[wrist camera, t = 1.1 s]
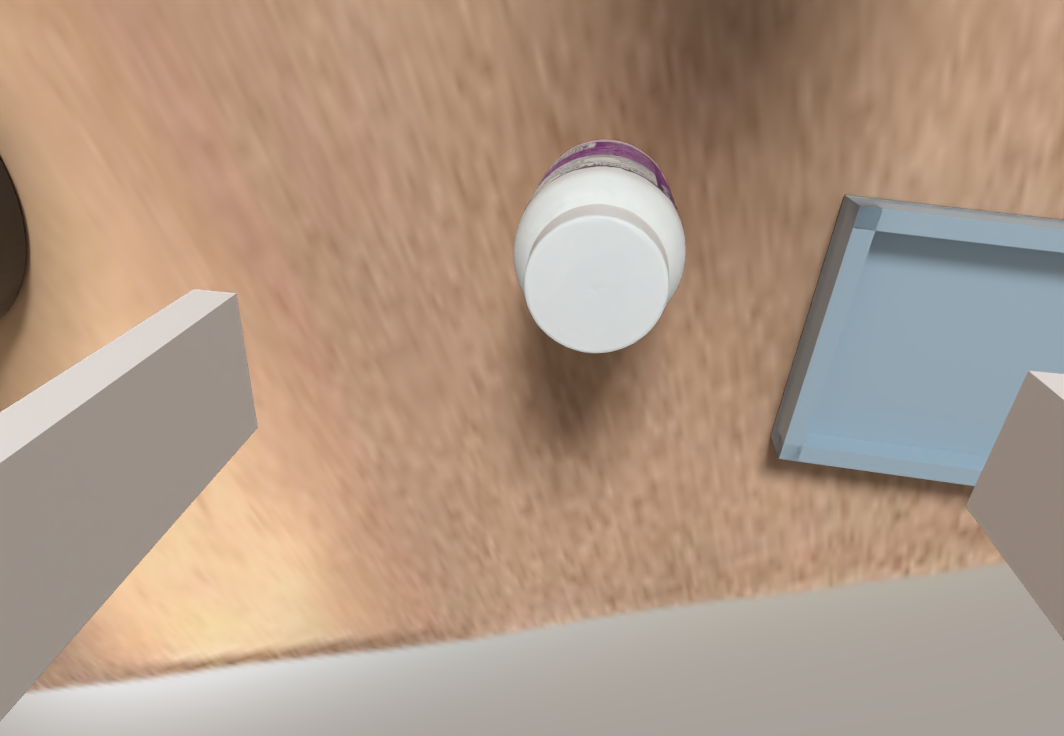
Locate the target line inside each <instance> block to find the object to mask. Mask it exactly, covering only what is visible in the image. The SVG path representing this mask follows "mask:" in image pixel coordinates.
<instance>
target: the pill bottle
mask: <svg viewBox="0 0 1064 736" xmlns="http://www.w3.org/2000/svg"><path fill="white" fill-rule="evenodd" d="M685 257H686V242H685V234H684V230H683V226H682V223H681V220H680V217H679V215H678V211H677V207H676V206H675V203H674V199H673V197H672V194H671V191H670V188H669V186H668V183H667V181H666V179H665V176H664V175H663V173H662V171H661V170H660V168H659V167H658V165H657V164H656V163H655V162H654V161H653V160H652V159H651V158H650V157H649V156H648V155H647V154H645V153H644V152H643V151H641V150H640V149H638V148H637V147H635V146H633V145H630V144H628V143H625V142H621V141H616V140H594V141H589V142H585V143H582V144H580V145H577V146H575V147H573V148H571V149H570V150H568V151H567V152H565V153H564V154H563V155H561V156H560V157H559V158H558V159H557V160H556V161H555V162H554V163H553V164H552V165H551V167H550V168H549V169H548V171H547V172H546V174H545V175H544V177H543V178H542V180H541V181H540V183H539V185H538V187H537V189H536V191H535V193H534V195H533V197H532V198H531V200H530V202H529V204H528V205H527V207H526V209H525V211H524V213H523V215H522V217H521V220H520V224H519V226H518V230H517V233H516V237H515V242H514V266H515V272H516V275H517V279H518V282H519V284H520V287H521V289H522V291H523V293H524V295H525V300H526V303H527V306H528V309H529V311H530V313H531V315H532V317H533V319H534V320H535V322H536V324H537V325H538V326H539V327H540V328H541V329H542V330H543V331H544V332H545V333H546V335H548V336H549V337H550V338H552V339H553V340H554V341H556V342H558V343H559V344H561V345H563V346H565V347H568V348H570V349H573V350H576V351H580V352H585V353H607V352H612V351H617V350H620V349H623V348H625V347H627V346H630V345H632V344H634V343H635V342H637V341H638V340H640V339H641V338H642V337H644V336H645V335H646V334H647V333H648V332H649V331H650V330H651V329H652V328H653V327H654V326H655V324H656V323H657V322H658V320H659V318H660V317H661V315H662V313H663V311H664V308H665V306H666V305H667V304H668V302H669V301H670V299H671V298H672V296H673V295H674V293H675V291H676V289H677V287H678V285H679V283H680V280H681V277H682V274H683V270H684V266H685Z"/></svg>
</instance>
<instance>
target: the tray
mask: <svg viewBox="0 0 1064 736" xmlns="http://www.w3.org/2000/svg"><path fill="white" fill-rule="evenodd" d="M1028 371H1038V372H1048V373H1058V374H1064V220H1061V219H1053V218H1044V217H1035V216H1026V215H1018V214H1009V213H1000V212H991V211H982V210H974V209H965V208H956V207H947V206H939V205H930V204H921V203H912V202H903V201H895V200H886V199H877V198H868V197H860V196H851V195H845V196H844V199H843V202H842V205H841V209H840V212H839V215H838V218H837V222H836V225H835V228H834V232H833V235H832V238H831V241H830V245H829V248H828V251H827V254H826V258H825V261H824V264H823V267H822V271H821V274H820V277H819V280H818V284H817V287H816V290H815V293H814V297H813V300H812V303H811V306H810V310H809V313H808V316H807V319H806V323H805V326H804V329H803V332H802V336H801V339H800V342H799V346H798V349H797V352H796V355H795V359H794V362H793V365H792V368H791V372H790V375H789V378H788V381H787V385H786V388H785V391H784V394H783V398H782V401H781V404H780V407H779V411H778V414H777V417H776V420H775V424H774V427H773V430H772V433H771V438H772V441H773V444H774V447H775V449H776V452H777V455H778V457H779V459H784V460H791V461H798V462H805V463H812V464H820V465H827V466H834V467H841V468H848V469H855V470H863V471H870V472H877V473H884V474H891V475H898V476H906V477H913V478H920V479H927V480H934V481H941V482H949V483H956V484H963V485H970V486H975V485H976V483H977V481H978V478H979V476H980V474H981V472H982V470H983V468H984V465H985V463H986V461H987V459H988V457H989V455H990V453H991V450H992V448H993V446H994V444H995V442H996V440H997V437H998V435H999V433H1000V431H1001V429H1002V427H1003V424H1004V422H1005V420H1006V418H1007V416H1008V414H1009V412H1010V409H1011V407H1012V405H1013V403H1014V401H1015V399H1016V396H1017V394H1018V392H1019V390H1020V388H1021V386H1022V383H1023V381H1024V379H1025V377H1026V375H1027V373H1028Z"/></svg>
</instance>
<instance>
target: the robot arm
mask: <svg viewBox="0 0 1064 736" xmlns="http://www.w3.org/2000/svg"><path fill="white" fill-rule="evenodd" d="M25 260H26V242H25V231H24V225H23V220H22V215H21V211H20V207H19V204H18V201H17V197H16V194H15V191H14V189H13V186H12V183H11V181H10V179H9V176H8V174H7V172H6V169H5V167H4V165H3V163H2V161H1V159H0V318H1V317H3V316H4V314H5V313H6V312H7V311H8V310H9V308H10V307H11V305H12V304H13V302H14V300H15V298H16V296H17V294H18V292H19V289H20V286H21V283H22V279H23V276H24V269H25ZM257 428H258V426H257V420H256V414H255V407H254V401H253V395H252V388H251V382H250V376H249V370H248V363H247V357H246V351H245V344H244V338H243V332H242V326H241V319H240V313H239V307H238V300H237V294H236V293H229V292H218V291H208V290H198V289H193V290H192V291H190V292H189V293H187V294H185V295H184V296H182V297H181V298H179V299H178V300H176V301H174V302H173V303H171V304H170V305H168V306H166V307H165V308H163V309H162V310H160V311H159V312H157V313H155V314H154V315H152V316H151V317H149V318H148V319H146V320H144V321H143V322H141V323H140V324H138V325H137V326H135V327H133V328H132V329H130V330H129V331H127V332H126V333H124V334H122V335H121V336H119V337H118V338H116V339H115V340H113V341H111V342H110V343H108V344H107V345H105V346H104V347H102V348H100V349H99V350H97V351H96V352H94V353H93V354H91V355H89V356H88V357H86V358H85V359H83V360H82V361H80V362H78V363H77V364H75V365H74V366H72V367H70V368H69V369H67V370H66V371H64V372H63V373H61V374H59V375H58V376H56V377H55V378H53V379H52V380H50V381H48V382H47V383H45V384H44V385H42V386H41V387H39V388H37V389H36V390H34V391H33V392H31V393H30V394H28V395H26V396H25V397H23V398H22V399H20V400H19V401H17V402H15V403H14V404H12V405H11V406H9V407H8V408H6V409H4V410H3V411H1V412H0V721H1V720H2V719H3V718H4V716H5V715H6V714H7V713H8V712H9V711H10V710H11V709H12V707H13V706H14V705H15V704H16V703H17V702H18V701H19V699H20V698H21V697H22V696H23V695H24V694H25V693H26V691H27V690H28V689H29V688H30V687H31V686H32V685H33V683H34V682H35V681H36V680H37V679H38V678H39V677H40V675H41V674H42V673H43V672H44V671H45V670H46V669H47V667H48V666H49V665H50V664H51V663H52V662H53V661H54V659H55V658H56V657H57V656H58V655H59V654H60V653H61V651H62V650H63V649H64V648H65V647H66V646H67V645H68V643H69V642H70V641H71V640H72V639H73V638H74V637H75V635H76V634H77V633H78V632H79V631H80V630H81V629H82V627H83V626H84V625H85V624H86V623H87V622H88V621H89V619H90V618H91V617H92V616H93V615H94V614H95V613H96V612H97V610H98V609H99V608H100V607H101V606H102V605H103V604H104V602H105V601H106V600H107V599H108V598H109V597H110V596H111V594H112V593H113V592H114V591H115V590H116V589H117V588H118V586H119V585H120V584H121V583H122V582H123V581H124V580H125V578H126V577H127V576H128V575H129V574H130V573H131V572H132V570H133V569H134V568H135V567H136V566H137V565H138V564H139V562H140V561H141V560H142V559H143V558H144V557H145V556H146V554H147V553H148V552H149V551H150V550H151V549H152V548H153V546H154V545H155V544H156V543H157V542H158V541H159V540H160V538H161V537H162V536H163V535H164V534H165V533H166V532H167V530H168V529H169V528H170V527H171V526H172V525H173V524H174V522H175V521H176V520H177V519H178V518H179V517H180V516H181V515H182V513H183V512H184V511H185V510H186V509H187V508H188V507H189V505H190V504H191V503H192V502H193V501H194V500H195V499H196V497H197V496H198V495H199V494H200V493H201V492H202V491H203V489H204V488H205V487H206V486H207V485H208V484H209V483H210V481H211V480H212V479H213V478H214V477H215V476H216V475H217V473H218V472H219V471H220V470H221V469H222V468H223V467H224V465H225V464H226V463H227V462H228V461H229V460H230V459H231V457H232V456H233V455H234V454H235V453H236V452H237V451H238V449H239V448H240V447H241V446H242V445H243V444H244V443H245V441H246V440H247V439H248V438H249V437H250V436H251V435H252V433H253V432H254V431H255V430H256V429H257ZM966 508H967V509H968V510H969V512H970V513H971V514H972V516H973V517H974V519H975V520H976V521H977V523H978V524H979V525H980V527H981V528H982V529H983V531H984V532H985V534H986V535H987V536H988V538H989V539H990V540H991V542H992V543H993V544H994V546H995V547H996V549H997V550H998V551H999V553H1000V554H1001V555H1002V557H1003V558H1004V559H1005V561H1006V562H1007V564H1008V565H1009V566H1010V568H1011V569H1012V570H1013V572H1014V573H1015V574H1016V576H1017V577H1018V579H1019V580H1020V581H1021V583H1022V584H1023V585H1024V587H1025V588H1026V589H1027V591H1028V592H1029V594H1030V595H1031V596H1032V598H1033V599H1034V600H1035V602H1036V603H1037V604H1038V606H1039V607H1040V609H1041V610H1042V611H1043V613H1044V614H1045V615H1046V616H1047V618H1048V619H1049V621H1050V622H1051V624H1052V625H1053V626H1054V628H1055V629H1056V630H1057V632H1058V633H1059V634H1060V636H1061V637H1062V639H1063V640H1064V374H1058V373H1048V372H1038V371H1028V373H1027V375H1026V377H1025V379H1024V381H1023V383H1022V386H1021V388H1020V390H1019V392H1018V394H1017V396H1016V399H1015V401H1014V403H1013V405H1012V407H1011V409H1010V412H1009V414H1008V416H1007V418H1006V420H1005V422H1004V424H1003V427H1002V429H1001V431H1000V433H999V435H998V437H997V440H996V442H995V444H994V446H993V448H992V450H991V453H990V455H989V457H988V459H987V461H986V463H985V465H984V468H983V470H982V472H981V474H980V476H979V478H978V481H977V483H976V485H975V487H974V489H973V491H972V494H971V496H970V498H969V500H968V502H967V504H966Z"/></svg>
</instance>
